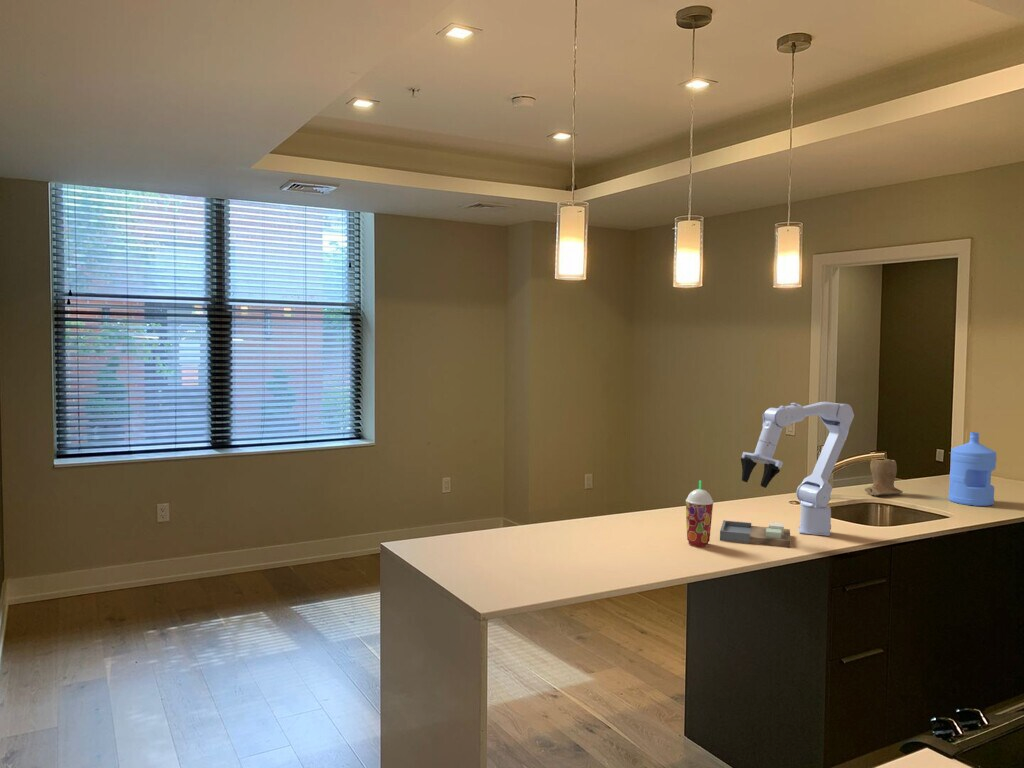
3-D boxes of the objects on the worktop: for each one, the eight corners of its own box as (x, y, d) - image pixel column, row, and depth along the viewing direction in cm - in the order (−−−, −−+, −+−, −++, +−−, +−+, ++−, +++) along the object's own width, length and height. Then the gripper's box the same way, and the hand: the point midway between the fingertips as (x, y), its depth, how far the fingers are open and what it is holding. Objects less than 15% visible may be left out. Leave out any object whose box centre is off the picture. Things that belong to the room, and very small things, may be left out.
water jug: (939, 499, 311) (943, 430, 310) (965, 497, 318) (968, 429, 316) (976, 508, 297) (980, 435, 295) (1002, 504, 304) (1007, 434, 302)
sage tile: (780, 535, 244) (781, 529, 244) (781, 538, 240) (781, 533, 240) (766, 533, 246) (766, 528, 246) (765, 537, 242) (766, 531, 241)
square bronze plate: (789, 535, 252) (789, 529, 252) (790, 547, 238) (790, 540, 238) (751, 531, 256) (751, 525, 256) (749, 543, 242) (749, 536, 242)
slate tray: (751, 531, 256) (751, 522, 256) (749, 543, 242) (749, 533, 242) (723, 529, 259) (723, 520, 259) (719, 540, 245) (720, 530, 244)
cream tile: (783, 531, 249) (783, 523, 249) (783, 534, 245) (783, 526, 245) (768, 529, 251) (769, 522, 251) (768, 533, 247) (768, 525, 246)
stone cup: (883, 490, 329) (885, 455, 328) (907, 496, 318) (908, 460, 317) (856, 492, 324) (857, 457, 323) (878, 498, 313) (880, 461, 312)
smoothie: (707, 540, 244) (709, 478, 242) (715, 548, 236) (717, 483, 234) (681, 540, 244) (683, 477, 242) (688, 548, 235) (690, 483, 234)
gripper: (741, 436, 251) (728, 475, 250) (778, 444, 238) (764, 486, 237) (755, 442, 254) (741, 481, 253) (791, 451, 242) (777, 492, 241)
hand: (753, 484), depth 246 cm, fingers open, 7 cm apart
